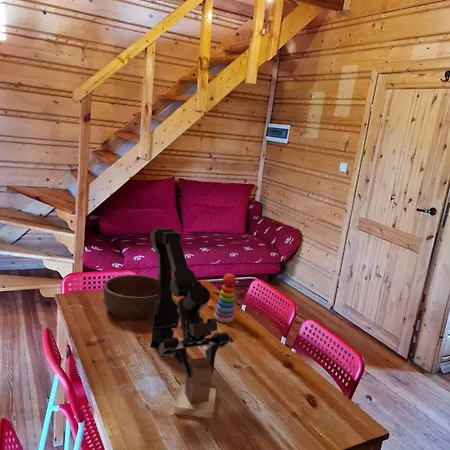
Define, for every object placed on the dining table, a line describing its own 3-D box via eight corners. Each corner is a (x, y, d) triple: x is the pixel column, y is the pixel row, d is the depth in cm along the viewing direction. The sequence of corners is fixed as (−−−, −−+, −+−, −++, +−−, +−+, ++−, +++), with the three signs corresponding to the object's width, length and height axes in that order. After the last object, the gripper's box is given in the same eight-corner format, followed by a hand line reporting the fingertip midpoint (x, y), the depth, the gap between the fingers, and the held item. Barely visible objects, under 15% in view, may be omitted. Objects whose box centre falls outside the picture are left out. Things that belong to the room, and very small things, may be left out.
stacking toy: (219, 324, 163) (224, 278, 159) (210, 315, 170) (215, 270, 166) (237, 322, 167) (243, 276, 163) (228, 313, 174) (233, 269, 169)
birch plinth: (174, 413, 110) (174, 406, 109) (179, 390, 120) (180, 384, 119) (212, 418, 110) (213, 411, 109) (215, 395, 119) (216, 388, 119)
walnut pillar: (184, 393, 115) (187, 359, 113) (201, 390, 117) (205, 357, 115) (190, 404, 111) (194, 369, 109) (208, 401, 113) (212, 367, 111)
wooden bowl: (136, 330, 151) (138, 303, 149) (88, 309, 164) (89, 284, 162) (179, 309, 172) (182, 285, 170) (134, 292, 185) (135, 269, 183)
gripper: (165, 310, 109) (174, 373, 101) (231, 305, 116) (244, 363, 109) (155, 325, 117) (163, 384, 110) (217, 319, 125) (228, 373, 118)
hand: (200, 375), depth 111 cm, fingers open, 6 cm apart
